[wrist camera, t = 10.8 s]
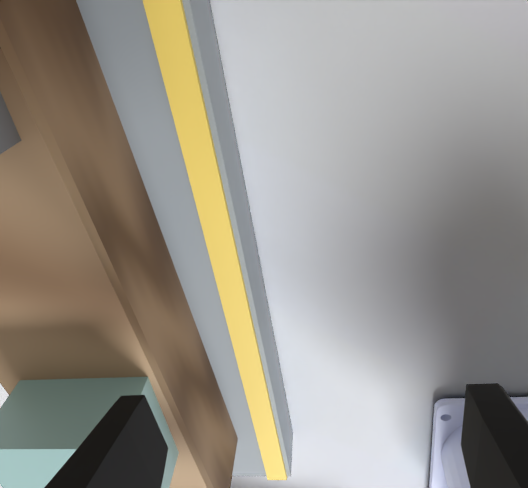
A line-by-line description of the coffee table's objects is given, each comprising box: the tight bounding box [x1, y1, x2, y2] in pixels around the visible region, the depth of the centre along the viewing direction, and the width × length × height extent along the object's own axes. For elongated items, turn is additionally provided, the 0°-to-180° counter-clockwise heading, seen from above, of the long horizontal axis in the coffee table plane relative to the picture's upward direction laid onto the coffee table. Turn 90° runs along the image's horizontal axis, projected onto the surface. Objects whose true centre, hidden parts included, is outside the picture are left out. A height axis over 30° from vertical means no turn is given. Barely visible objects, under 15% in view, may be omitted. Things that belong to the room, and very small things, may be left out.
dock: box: [76, 0, 293, 480], centre depth 18 cm, size 30×11×3 cm, turn 9°
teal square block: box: [0, 377, 179, 488], centre depth 15 cm, size 4×4×2 cm
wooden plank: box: [0, 0, 238, 488], centre depth 15 cm, size 26×6×4 cm, turn 11°
